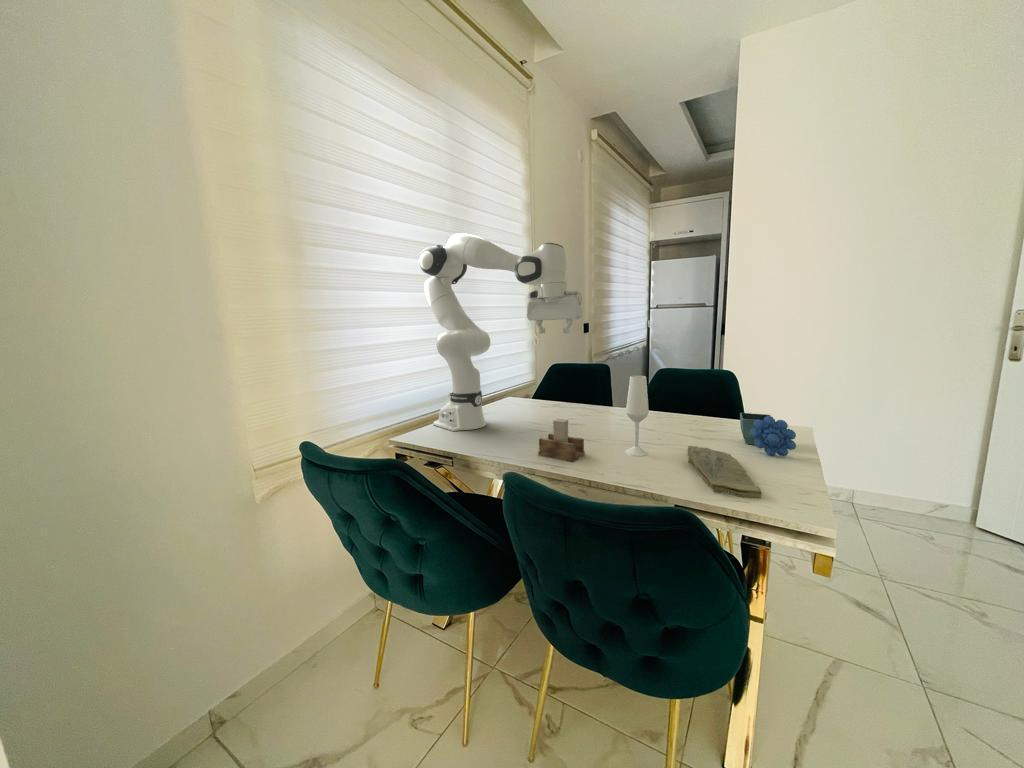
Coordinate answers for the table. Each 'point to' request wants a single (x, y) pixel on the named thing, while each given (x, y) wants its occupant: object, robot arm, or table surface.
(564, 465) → the table surface
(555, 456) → the wooden napkin holder
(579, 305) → the robot arm
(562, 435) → the strip
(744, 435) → the flower pot
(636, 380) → the champagne flute
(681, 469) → the table surface
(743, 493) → the stone slab
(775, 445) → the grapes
